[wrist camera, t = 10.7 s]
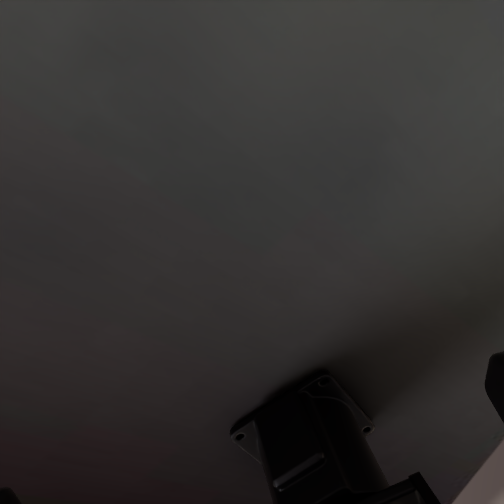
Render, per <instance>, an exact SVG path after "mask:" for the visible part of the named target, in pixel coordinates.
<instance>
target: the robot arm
mask: <svg viewBox="0 0 504 504" xmlns="http://www.w3.org/2000/svg"><path fill="white" fill-rule="evenodd" d="M323 379H324V380H323ZM485 389H486V392H487V395H488V397H489V399H490V400H491V402H492V404H493V405H494V407H495V409H496V411H497V412H498V414H499V416H500V417H501V419H502V421H503V423H504V351H503V352H499V353H496V354H493V355H492V356H491V357H490V359H489V364H488V369H487V374H486V379H485ZM374 428H375V427H374V425H373V423H372V421H371V419H370V418H369V417H368V416H367V415H366V414H365V413H364V411H363V410H362V409H361V408H360V407H359V406H358V405H357V403H356V402H355V401H354V400H353V399H352V398H351V397H350V395H349V394H348V393H347V392H346V391H345V390H344V388H343V387H342V386H341V385H340V384H339V383H338V382H337V380H336V379H335V378H334V377H333V376H332V375H331V374H330V372H328V371H326V370H322V371H319V372H317V373H316V374H314V375H312V376H311V377H309V378H308V379H306V380H305V381H303V382H302V383H300V384H299V385H297V386H296V387H294V388H292V389H291V390H289V391H288V392H286V393H285V394H283V395H282V396H280V397H279V398H277V399H276V400H274V401H272V402H271V403H269V404H268V405H266V406H265V407H263V408H262V409H260V410H259V411H257V412H256V413H254V414H252V415H251V416H249V417H248V418H246V419H245V420H243V421H242V422H240V423H239V424H237V425H236V426H234V427H233V428H232V429H231V430H230V436H231V440H232V441H233V442H234V443H235V444H236V445H238V446H239V447H240V448H241V449H243V450H244V451H245V452H246V453H248V454H249V455H250V456H252V457H253V458H254V459H255V460H257V461H258V462H259V463H260V464H262V465H263V468H264V472H265V475H266V479H267V482H268V486H269V489H270V493H271V497H272V500H273V504H441V503H440V502H439V501H438V499H437V498H436V496H435V495H434V493H433V492H432V490H431V489H430V487H429V486H428V484H427V483H426V481H425V480H424V478H423V477H422V475H421V474H420V472H417V473H414V474H412V475H410V476H408V477H409V478H408V479H406V480H404V481H401V482H399V483H397V484H395V485H392V486H389V484H388V482H387V480H386V478H385V476H384V474H383V472H382V470H381V468H380V466H379V464H378V463H377V461H376V459H375V457H374V455H373V453H372V451H371V449H370V447H369V445H368V443H367V441H366V439H365V437H366V436H367V435H369V434H370V433H372V432H373V430H374ZM0 504H21V502H20V501H19V499H18V498H17V496H16V495H15V493H14V492H13V490H12V489H11V488H8V487H4V488H0Z"/></svg>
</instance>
